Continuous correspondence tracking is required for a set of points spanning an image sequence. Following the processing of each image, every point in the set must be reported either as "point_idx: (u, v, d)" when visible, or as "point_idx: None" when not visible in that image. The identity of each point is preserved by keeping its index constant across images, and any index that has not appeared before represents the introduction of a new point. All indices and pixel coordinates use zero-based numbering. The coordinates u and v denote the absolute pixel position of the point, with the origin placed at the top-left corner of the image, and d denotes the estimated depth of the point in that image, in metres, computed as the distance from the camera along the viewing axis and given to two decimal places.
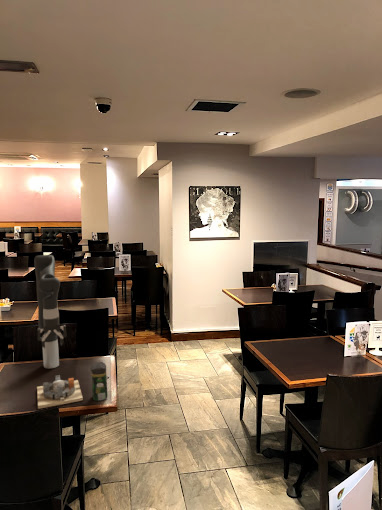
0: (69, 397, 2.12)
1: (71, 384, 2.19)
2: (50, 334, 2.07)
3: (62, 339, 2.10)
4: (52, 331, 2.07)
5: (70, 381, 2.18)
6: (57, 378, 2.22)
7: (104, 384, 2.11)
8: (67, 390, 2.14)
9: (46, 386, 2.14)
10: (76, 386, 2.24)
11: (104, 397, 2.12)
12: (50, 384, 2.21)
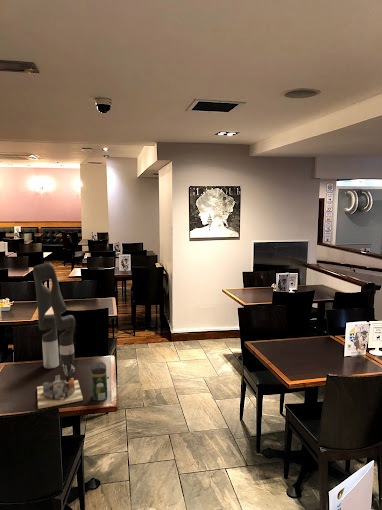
0: (69, 397, 2.12)
1: (71, 384, 2.19)
2: None
3: None
4: None
5: (70, 381, 2.18)
6: (57, 378, 2.22)
7: (104, 384, 2.11)
8: (67, 390, 2.14)
9: (46, 386, 2.14)
10: (76, 386, 2.24)
11: (104, 397, 2.12)
12: (50, 384, 2.21)
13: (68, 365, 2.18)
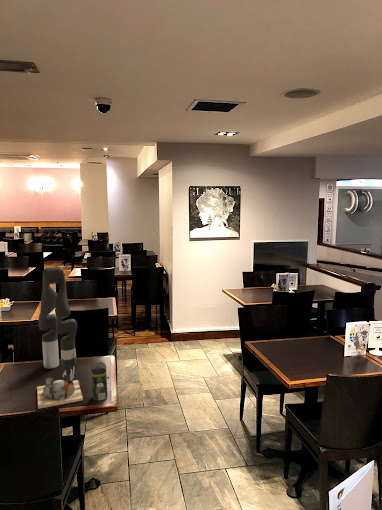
0: (69, 397, 2.12)
1: (66, 389, 2.14)
2: None
3: None
4: None
5: (65, 385, 2.13)
6: None
7: (104, 384, 2.11)
8: (57, 393, 2.11)
9: (48, 382, 2.19)
10: (76, 386, 2.24)
11: (104, 397, 2.12)
12: None
13: None
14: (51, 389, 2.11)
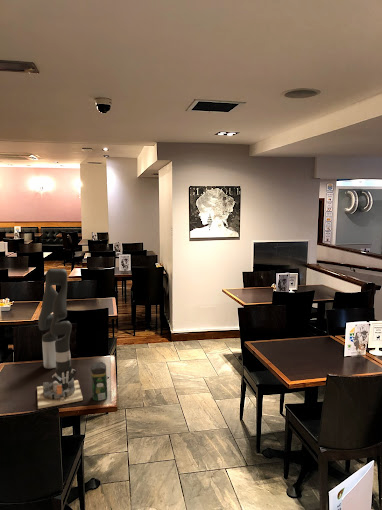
0: (69, 397, 2.12)
1: None
2: None
3: (67, 383, 2.13)
4: (65, 373, 2.11)
5: None
6: None
7: (104, 384, 2.11)
8: (48, 392, 2.12)
9: None
10: (76, 386, 2.24)
11: (104, 397, 2.12)
12: (68, 382, 2.23)
13: None
14: (46, 386, 2.14)
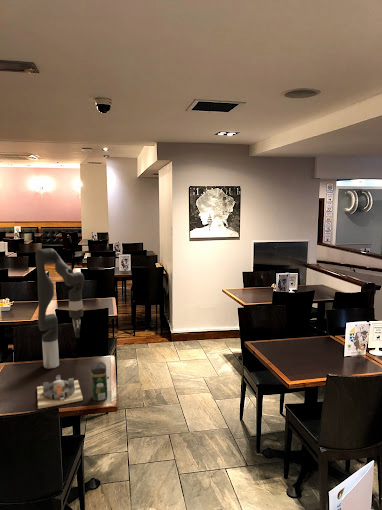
0: (69, 397, 2.12)
1: None
2: (78, 324, 2.27)
3: None
4: None
5: None
6: (68, 380, 2.19)
7: (104, 384, 2.11)
8: (48, 392, 2.12)
9: None
10: (76, 386, 2.24)
11: (104, 397, 2.12)
12: (68, 382, 2.23)
13: (74, 321, 2.24)
14: (46, 386, 2.14)
